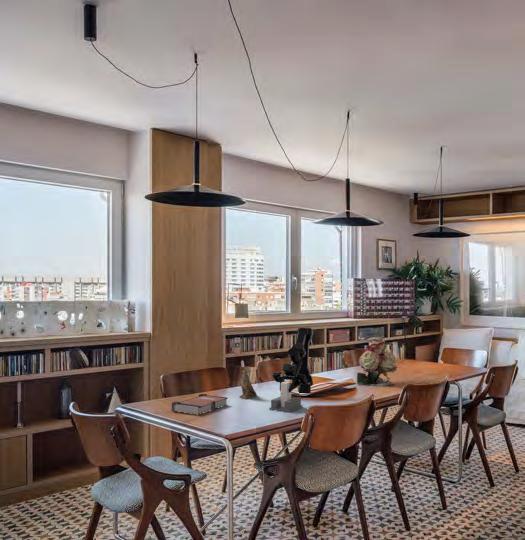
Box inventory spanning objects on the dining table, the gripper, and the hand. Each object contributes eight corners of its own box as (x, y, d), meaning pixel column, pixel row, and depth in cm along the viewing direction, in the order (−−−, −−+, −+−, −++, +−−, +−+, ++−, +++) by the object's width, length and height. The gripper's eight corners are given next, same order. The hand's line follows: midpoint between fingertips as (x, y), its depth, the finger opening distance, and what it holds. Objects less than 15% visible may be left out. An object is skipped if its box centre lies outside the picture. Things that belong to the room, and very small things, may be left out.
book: (199, 416, 280) (199, 406, 280) (171, 412, 289) (171, 402, 289) (228, 406, 303) (228, 396, 303) (202, 402, 311) (202, 393, 311)
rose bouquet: (357, 387, 352) (356, 338, 352) (356, 379, 380) (356, 334, 381) (399, 388, 347) (398, 339, 348) (395, 379, 376) (395, 334, 377)
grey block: (285, 405, 297) (285, 381, 297) (291, 405, 295) (291, 381, 295) (280, 407, 292) (280, 383, 292) (286, 407, 290) (286, 383, 290)
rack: (282, 404, 303) (282, 395, 303) (302, 407, 296) (302, 397, 297) (269, 409, 291) (269, 400, 291) (289, 412, 284) (289, 402, 285)
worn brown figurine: (245, 403, 317) (241, 373, 314) (238, 402, 321) (234, 372, 318) (258, 396, 326) (254, 366, 324) (251, 394, 330) (247, 365, 327)
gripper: (273, 356, 302) (263, 380, 293) (305, 359, 293) (295, 383, 283) (281, 369, 309) (271, 393, 299) (312, 372, 299) (302, 396, 290)
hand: (284, 391), depth 293 cm, fingers open, 5 cm apart
